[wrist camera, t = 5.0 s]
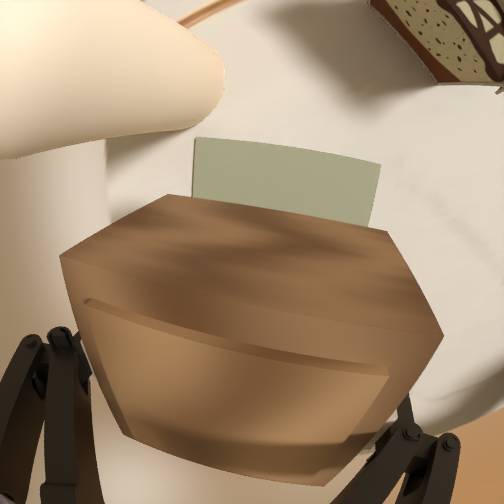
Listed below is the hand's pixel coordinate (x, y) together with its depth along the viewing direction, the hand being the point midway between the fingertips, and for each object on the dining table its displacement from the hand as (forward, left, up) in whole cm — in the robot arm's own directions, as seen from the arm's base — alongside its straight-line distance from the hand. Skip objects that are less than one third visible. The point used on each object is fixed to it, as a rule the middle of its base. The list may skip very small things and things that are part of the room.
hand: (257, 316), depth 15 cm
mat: (0, 0, -12) cm, 12 cm away
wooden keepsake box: (0, 0, -1) cm, 1 cm away
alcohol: (+10, -13, -12) cm, 21 cm away
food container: (-11, -22, -12) cm, 27 cm away
